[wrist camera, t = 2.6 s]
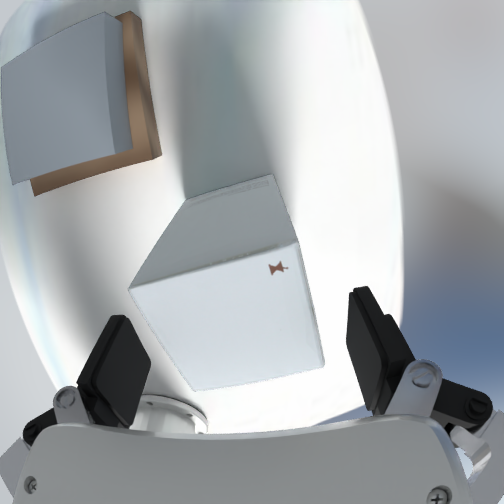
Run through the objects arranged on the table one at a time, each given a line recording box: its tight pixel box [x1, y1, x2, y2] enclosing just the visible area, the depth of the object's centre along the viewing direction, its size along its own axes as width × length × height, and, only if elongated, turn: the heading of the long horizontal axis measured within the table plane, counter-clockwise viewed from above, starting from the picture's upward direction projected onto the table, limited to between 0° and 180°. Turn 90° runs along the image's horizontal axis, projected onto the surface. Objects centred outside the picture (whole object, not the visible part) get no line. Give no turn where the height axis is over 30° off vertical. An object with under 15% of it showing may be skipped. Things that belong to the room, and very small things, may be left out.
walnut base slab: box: [30, 11, 162, 196], centre depth 17 cm, size 12×12×3 cm
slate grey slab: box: [1, 12, 133, 185], centre depth 15 cm, size 10×10×3 cm
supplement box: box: [128, 174, 325, 392], centre depth 18 cm, size 7×7×13 cm
